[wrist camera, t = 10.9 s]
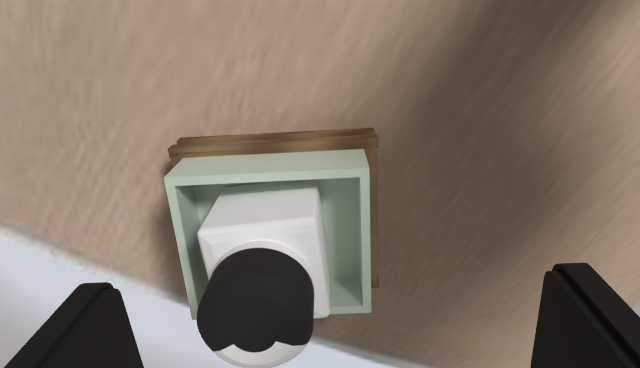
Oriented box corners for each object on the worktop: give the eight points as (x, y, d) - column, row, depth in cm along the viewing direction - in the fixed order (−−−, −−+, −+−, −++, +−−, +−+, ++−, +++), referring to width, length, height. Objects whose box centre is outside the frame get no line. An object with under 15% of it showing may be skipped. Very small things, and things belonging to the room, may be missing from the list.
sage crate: (363, 149, 31) (369, 167, 27) (366, 280, 35) (371, 312, 31) (183, 158, 31) (163, 177, 28) (206, 286, 36) (192, 319, 32)
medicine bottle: (221, 186, 32) (165, 280, 20) (317, 175, 31) (313, 264, 20) (240, 269, 34) (199, 392, 23) (329, 259, 34) (332, 380, 23)
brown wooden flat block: (373, 128, 34) (377, 138, 31) (374, 267, 38) (378, 287, 35) (180, 137, 34) (167, 148, 31) (205, 274, 39) (195, 294, 36)
